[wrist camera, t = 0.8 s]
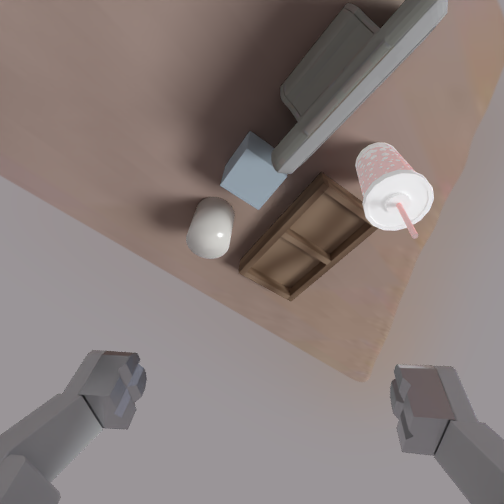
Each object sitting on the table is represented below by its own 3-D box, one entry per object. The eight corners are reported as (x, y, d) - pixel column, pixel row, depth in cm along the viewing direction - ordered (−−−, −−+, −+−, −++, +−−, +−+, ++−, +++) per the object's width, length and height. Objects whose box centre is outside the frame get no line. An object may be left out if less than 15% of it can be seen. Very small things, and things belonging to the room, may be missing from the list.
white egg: (189, 217, 44) (178, 245, 40) (208, 189, 42) (199, 216, 37) (221, 235, 46) (215, 264, 41) (242, 210, 43) (237, 239, 39)
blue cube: (225, 165, 39) (219, 185, 36) (250, 130, 37) (246, 148, 33) (260, 187, 41) (258, 210, 37) (286, 156, 38) (287, 176, 34)
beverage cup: (347, 140, 37) (376, 208, 26) (407, 130, 36) (464, 198, 25) (348, 189, 40) (374, 268, 30) (402, 182, 39) (449, 260, 29)
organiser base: (240, 260, 48) (238, 272, 46) (321, 171, 39) (323, 182, 37) (290, 288, 51) (290, 301, 49) (377, 212, 42) (382, 224, 40)
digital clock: (297, 158, 38) (303, 208, 30) (246, 92, 34) (236, 129, 26) (442, 54, 31) (501, 82, 23) (399, -45, 27) (452, -54, 19)
